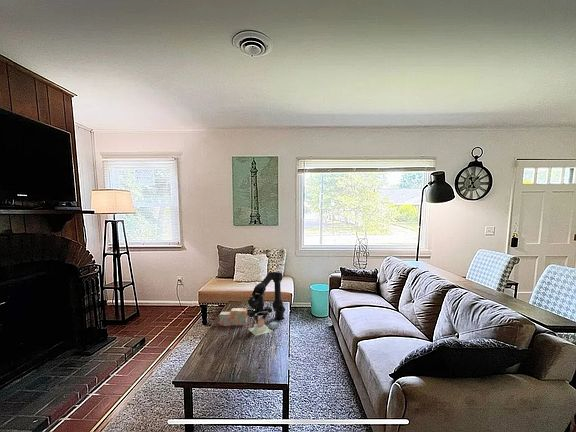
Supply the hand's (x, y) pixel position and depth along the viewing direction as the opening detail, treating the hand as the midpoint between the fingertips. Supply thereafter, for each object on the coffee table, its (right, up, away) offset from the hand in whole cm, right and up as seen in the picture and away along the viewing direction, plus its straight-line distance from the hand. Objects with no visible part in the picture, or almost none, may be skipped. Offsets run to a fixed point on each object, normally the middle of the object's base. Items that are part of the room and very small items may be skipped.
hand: (260, 322), depth 209 cm
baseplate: (0, -6, 0) cm, 6 cm away
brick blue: (+10, -6, +4) cm, 13 cm away
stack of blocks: (-23, -7, +13) cm, 27 cm away
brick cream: (0, -6, 0) cm, 6 cm away
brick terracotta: (0, -1, 0) cm, 1 cm away
